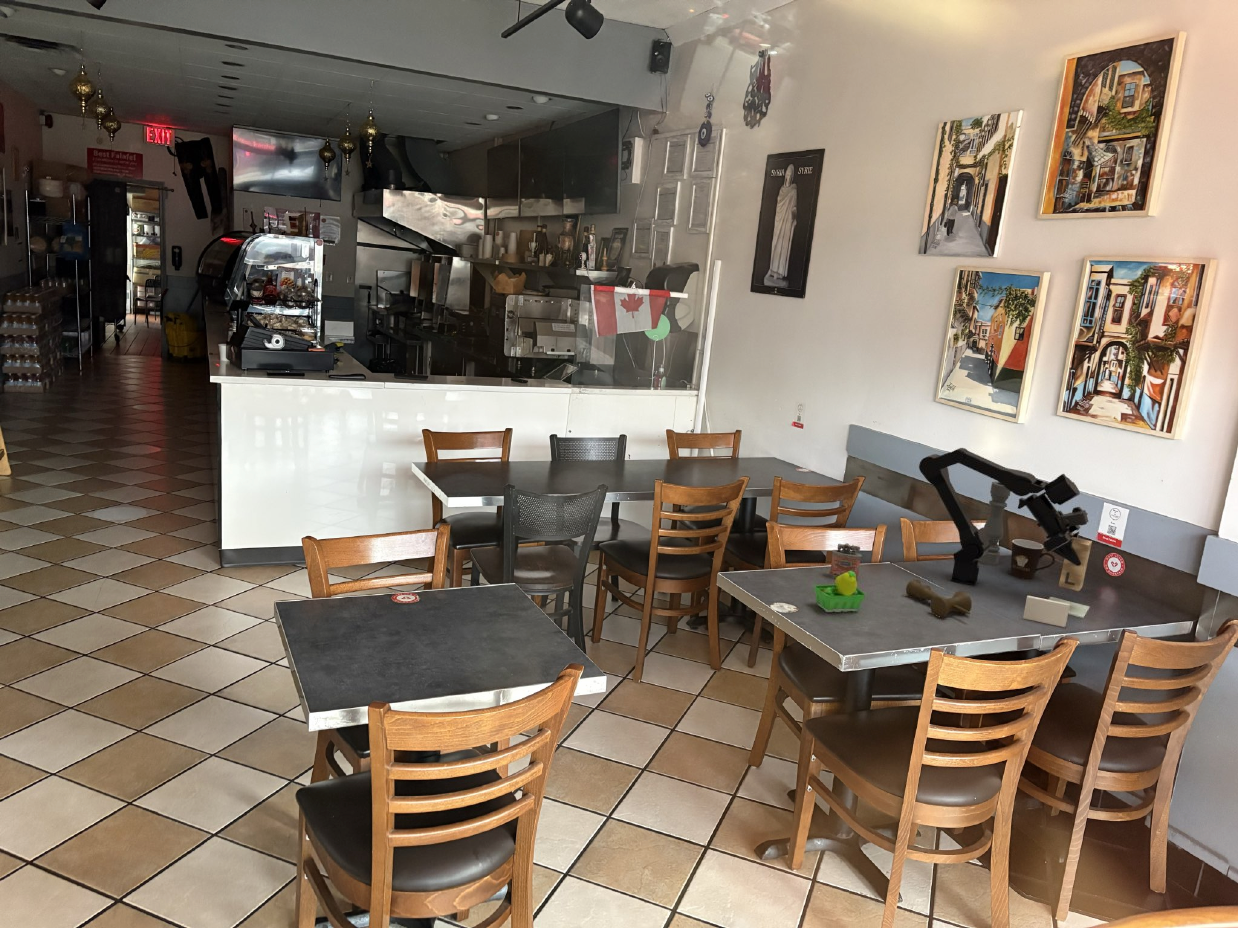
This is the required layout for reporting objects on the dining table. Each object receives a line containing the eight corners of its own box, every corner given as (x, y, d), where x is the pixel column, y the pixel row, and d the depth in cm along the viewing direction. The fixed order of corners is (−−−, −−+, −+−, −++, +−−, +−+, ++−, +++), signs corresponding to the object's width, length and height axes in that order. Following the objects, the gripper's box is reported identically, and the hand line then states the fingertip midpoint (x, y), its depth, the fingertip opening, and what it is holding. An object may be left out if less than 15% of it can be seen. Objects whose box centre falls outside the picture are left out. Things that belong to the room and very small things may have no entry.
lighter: (828, 577, 253) (833, 543, 251) (829, 573, 256) (834, 540, 254) (857, 582, 251) (862, 548, 248) (858, 578, 254) (863, 545, 252)
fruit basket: (848, 601, 236) (854, 561, 233) (867, 615, 227) (873, 573, 225) (810, 603, 232) (815, 562, 229) (827, 617, 224) (833, 574, 221)
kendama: (923, 595, 247) (981, 621, 229) (897, 599, 242) (954, 627, 225) (925, 574, 245) (984, 599, 228) (899, 578, 241) (957, 604, 224)
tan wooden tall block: (1058, 586, 242) (1068, 540, 239) (1062, 581, 246) (1071, 536, 243) (1078, 591, 239) (1088, 545, 236) (1082, 586, 243) (1092, 541, 240)
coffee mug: (999, 571, 270) (1005, 540, 268) (1020, 569, 274) (1026, 538, 272) (1031, 585, 260) (1038, 553, 258) (1052, 583, 264) (1058, 551, 261)
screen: (1023, 618, 234) (1027, 596, 233) (1023, 616, 235) (1027, 595, 234) (1065, 627, 230) (1069, 605, 229) (1064, 625, 231) (1069, 603, 230)
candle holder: (999, 565, 276) (1014, 487, 270) (978, 563, 277) (993, 485, 271) (995, 559, 282) (1010, 483, 276) (975, 556, 283) (989, 480, 277)
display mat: (1042, 607, 243) (1043, 605, 243) (1050, 597, 251) (1050, 596, 251) (1083, 618, 238) (1083, 616, 237) (1089, 608, 246) (1089, 606, 245)
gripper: (1065, 504, 232) (1103, 556, 228) (1078, 492, 247) (1114, 540, 243) (1027, 526, 238) (1064, 576, 235) (1042, 513, 253) (1077, 560, 250)
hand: (1081, 562), depth 240 cm, fingers closed on tan wooden tall block, 5 cm apart
